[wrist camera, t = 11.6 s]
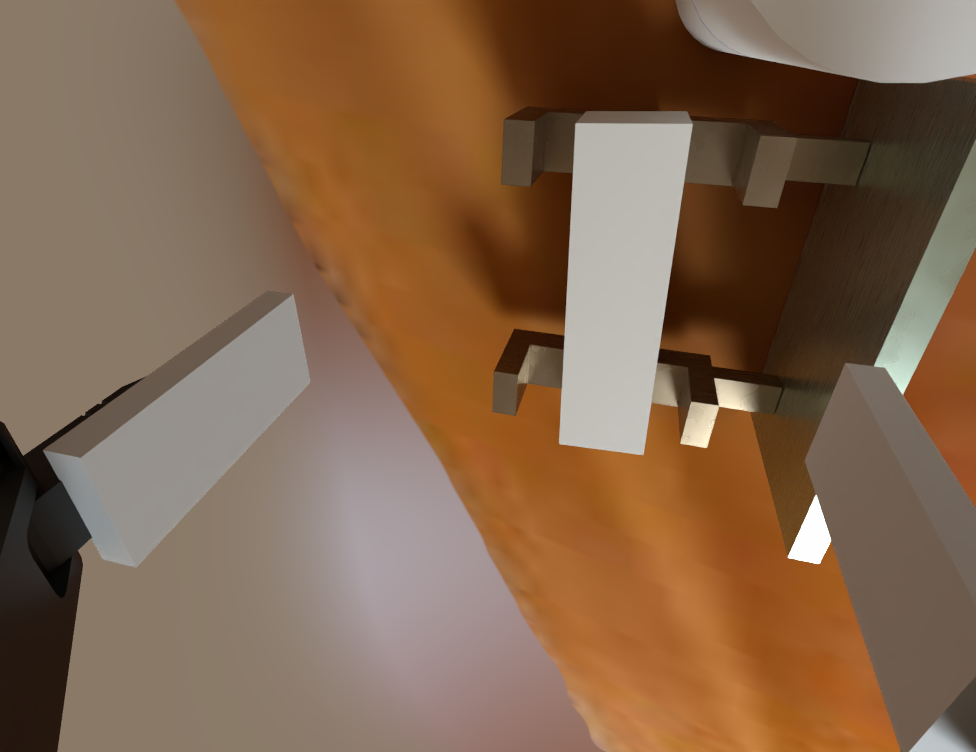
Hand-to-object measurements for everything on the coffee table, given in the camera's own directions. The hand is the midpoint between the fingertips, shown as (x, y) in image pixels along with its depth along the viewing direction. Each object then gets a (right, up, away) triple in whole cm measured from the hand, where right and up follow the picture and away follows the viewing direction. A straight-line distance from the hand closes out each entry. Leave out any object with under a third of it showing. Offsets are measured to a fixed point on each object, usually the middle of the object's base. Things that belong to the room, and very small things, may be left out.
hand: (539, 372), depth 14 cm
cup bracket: (+11, +8, +23) cm, 27 cm away
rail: (+6, +6, +20) cm, 21 cm away
